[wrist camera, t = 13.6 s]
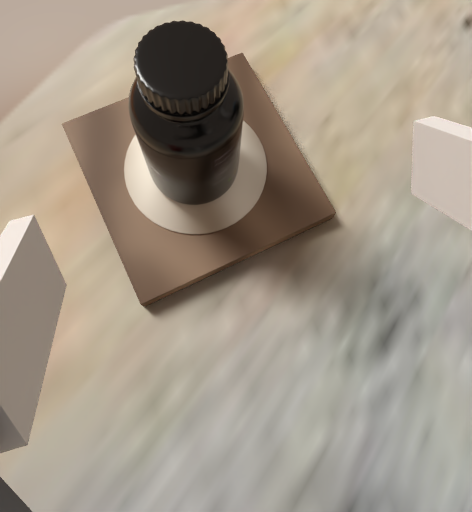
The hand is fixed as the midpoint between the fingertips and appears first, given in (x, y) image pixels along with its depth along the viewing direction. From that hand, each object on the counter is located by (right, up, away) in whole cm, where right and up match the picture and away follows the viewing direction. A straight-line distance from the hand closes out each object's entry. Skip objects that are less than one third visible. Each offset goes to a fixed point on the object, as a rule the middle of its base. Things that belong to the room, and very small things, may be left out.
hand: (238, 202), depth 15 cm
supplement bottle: (-3, +5, +18) cm, 19 cm away
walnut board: (-3, +5, +20) cm, 21 cm away
